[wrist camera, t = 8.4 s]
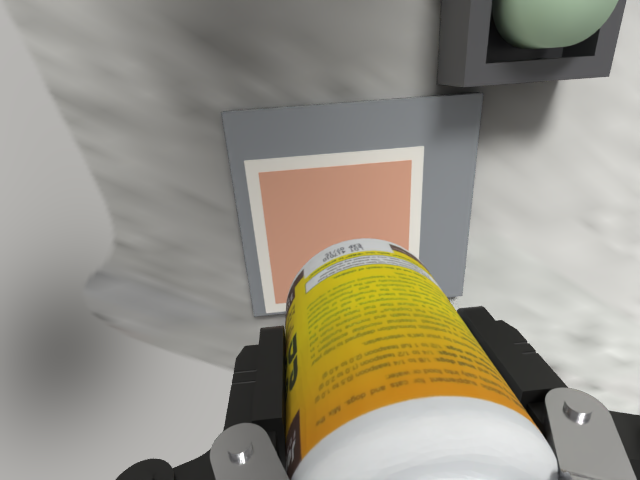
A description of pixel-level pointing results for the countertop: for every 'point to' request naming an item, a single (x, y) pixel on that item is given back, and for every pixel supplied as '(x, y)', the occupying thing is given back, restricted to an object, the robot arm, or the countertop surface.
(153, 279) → the countertop surface
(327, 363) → the supplement bottle
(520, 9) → the button
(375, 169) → the picture board
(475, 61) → the button housing
